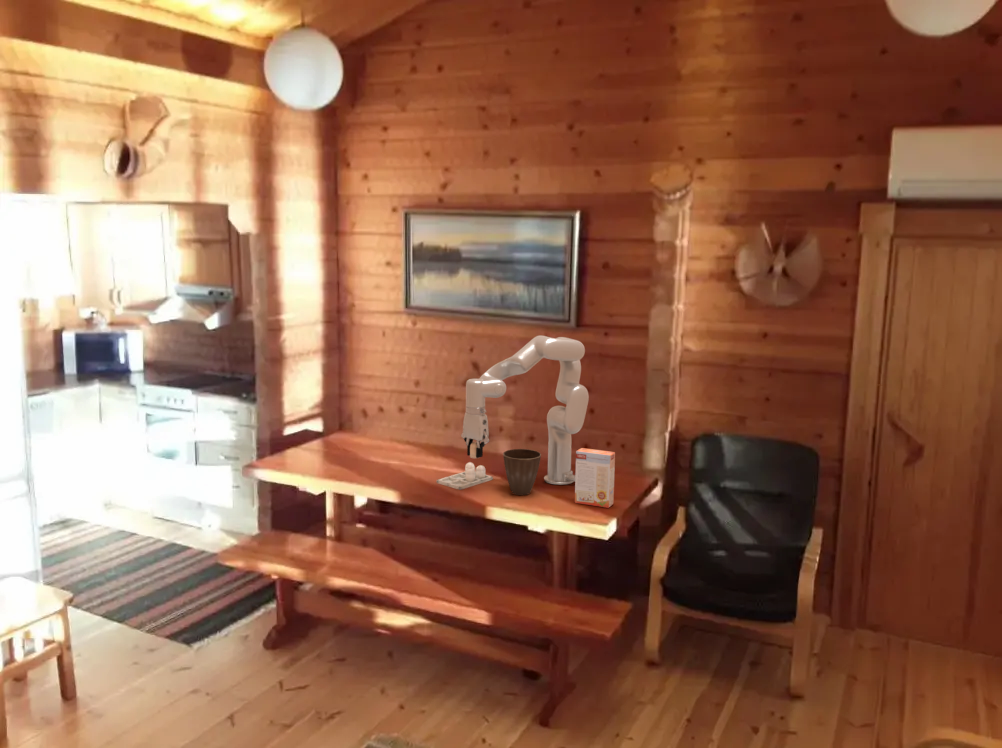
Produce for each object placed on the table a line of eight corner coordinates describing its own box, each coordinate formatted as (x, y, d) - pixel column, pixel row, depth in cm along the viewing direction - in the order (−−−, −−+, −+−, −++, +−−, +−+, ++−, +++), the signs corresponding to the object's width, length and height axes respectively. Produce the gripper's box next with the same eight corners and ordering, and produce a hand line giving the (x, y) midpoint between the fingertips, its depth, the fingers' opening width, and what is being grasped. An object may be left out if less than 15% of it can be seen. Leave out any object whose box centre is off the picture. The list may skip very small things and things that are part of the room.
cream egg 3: (487, 479, 360) (487, 465, 359) (480, 481, 357) (480, 467, 356) (480, 477, 363) (480, 463, 362) (473, 479, 360) (473, 465, 359)
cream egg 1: (476, 476, 364) (476, 462, 363) (469, 478, 361) (470, 464, 360) (469, 474, 367) (469, 460, 366) (463, 476, 364) (463, 462, 363)
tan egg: (482, 456, 343) (482, 442, 342) (475, 458, 340) (475, 444, 339) (474, 455, 346) (474, 440, 345) (467, 457, 343) (467, 442, 342)
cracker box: (613, 504, 334) (616, 451, 331) (608, 508, 329) (610, 455, 325) (579, 498, 341) (581, 446, 337) (574, 503, 335) (575, 450, 331)
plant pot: (539, 487, 354) (540, 449, 352) (540, 498, 340) (541, 459, 337) (502, 486, 354) (503, 448, 352) (502, 498, 340) (503, 458, 337)
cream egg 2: (477, 482, 356) (477, 468, 355) (470, 484, 353) (470, 470, 352) (470, 480, 359) (470, 466, 357) (463, 482, 356) (463, 468, 355)
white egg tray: (492, 481, 361) (492, 476, 360) (459, 492, 346) (459, 486, 346) (469, 475, 369) (469, 470, 369) (436, 485, 355) (436, 479, 355)
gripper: (497, 412, 337) (497, 458, 340) (466, 405, 348) (465, 450, 351) (485, 415, 332) (484, 461, 335) (453, 408, 342) (452, 454, 345)
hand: (474, 455), depth 343 cm, fingers closed on tan egg, 4 cm apart
